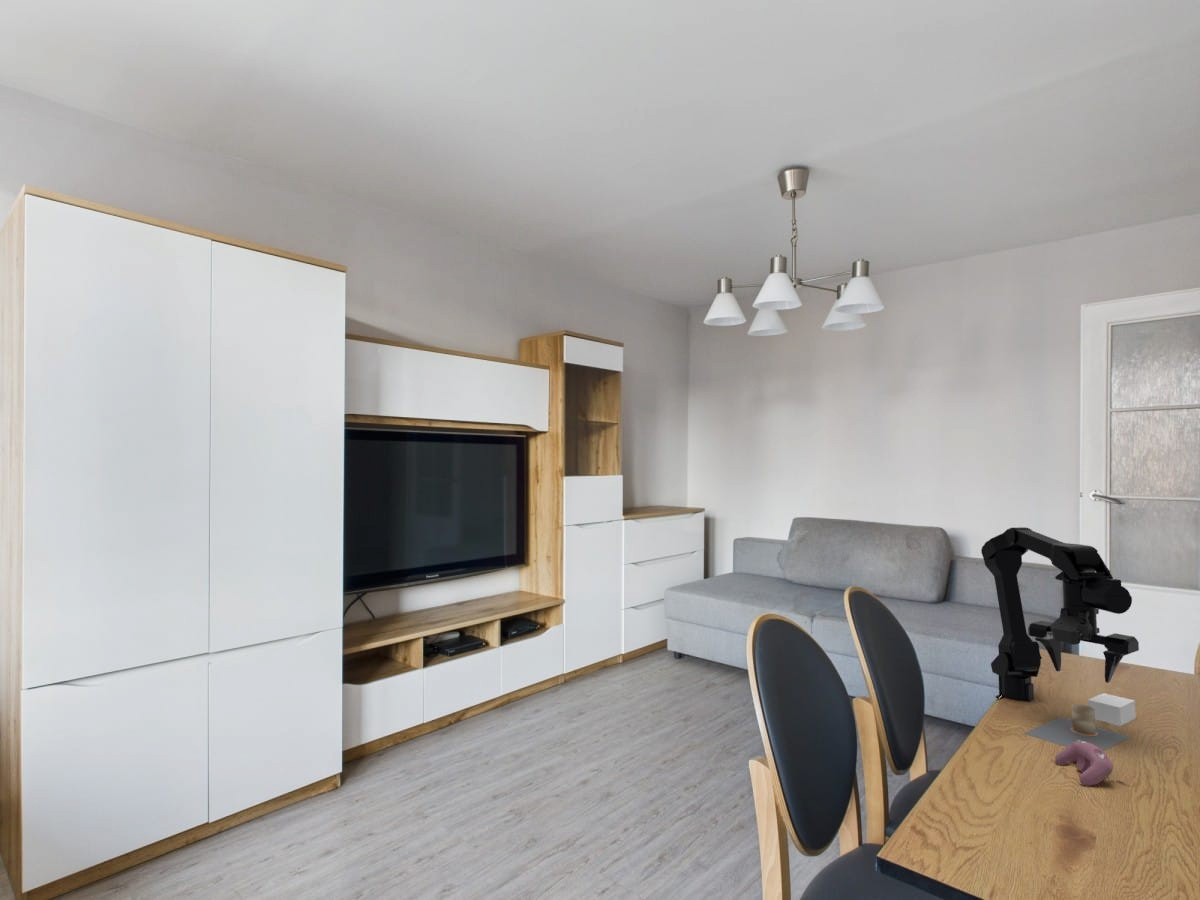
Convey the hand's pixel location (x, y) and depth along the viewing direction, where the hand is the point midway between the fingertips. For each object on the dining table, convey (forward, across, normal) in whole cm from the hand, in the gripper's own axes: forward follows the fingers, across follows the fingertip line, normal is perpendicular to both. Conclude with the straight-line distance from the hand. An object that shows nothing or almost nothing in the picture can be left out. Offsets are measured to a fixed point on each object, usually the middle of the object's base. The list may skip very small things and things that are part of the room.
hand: (1082, 676), depth 139 cm
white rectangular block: (+13, 0, +14) cm, 19 cm away
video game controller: (+13, +8, -21) cm, 26 cm away
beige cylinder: (+12, 0, 0) cm, 12 cm away
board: (+12, 0, -4) cm, 13 cm away
